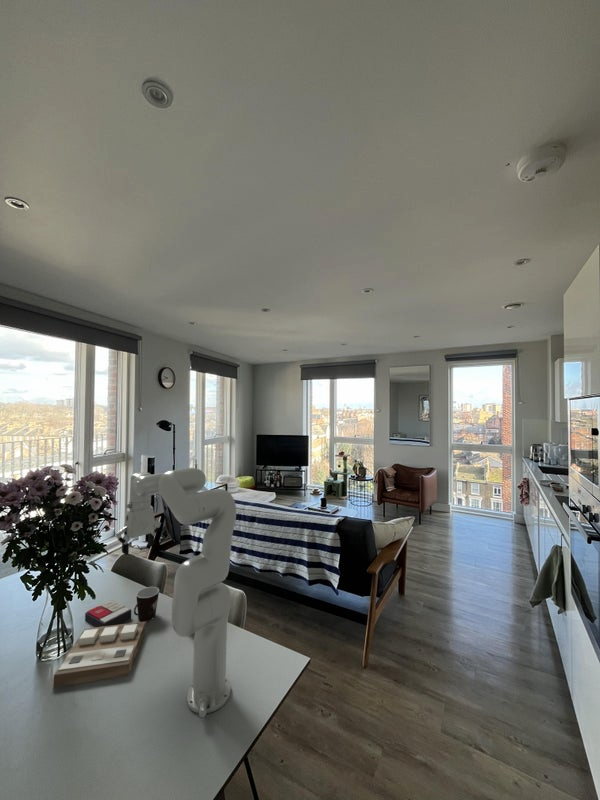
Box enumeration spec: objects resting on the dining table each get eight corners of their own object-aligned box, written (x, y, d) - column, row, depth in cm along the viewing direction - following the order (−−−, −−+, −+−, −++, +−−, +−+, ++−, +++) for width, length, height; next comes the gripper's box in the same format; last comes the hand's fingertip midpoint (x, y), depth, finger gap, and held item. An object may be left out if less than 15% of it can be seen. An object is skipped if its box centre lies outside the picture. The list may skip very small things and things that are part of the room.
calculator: (112, 598, 140) (132, 607, 132) (112, 608, 139) (131, 618, 131) (84, 611, 130) (104, 621, 123) (84, 622, 130) (103, 633, 122)
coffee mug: (151, 608, 138) (152, 584, 139) (162, 615, 133) (163, 591, 134) (123, 622, 129) (124, 596, 129) (134, 630, 124) (135, 604, 124)
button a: (133, 641, 115) (134, 631, 115) (120, 643, 114) (120, 633, 114) (137, 633, 119) (137, 623, 119) (124, 635, 118) (124, 625, 118)
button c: (93, 647, 112) (93, 636, 112) (78, 649, 111) (79, 638, 111) (98, 638, 116) (98, 628, 116) (84, 640, 115) (84, 630, 115)
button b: (113, 644, 113) (114, 634, 113) (99, 646, 112) (100, 635, 112) (117, 636, 117) (118, 626, 118) (104, 637, 116) (104, 627, 117)
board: (128, 675, 102) (128, 662, 103) (53, 686, 98) (54, 673, 98) (145, 630, 124) (145, 620, 124) (84, 638, 119) (84, 627, 119)
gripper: (121, 511, 116) (119, 560, 115) (166, 502, 130) (164, 545, 129) (112, 508, 121) (110, 554, 120) (156, 499, 134) (154, 540, 133)
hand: (138, 549), depth 124 cm, fingers open, 9 cm apart
